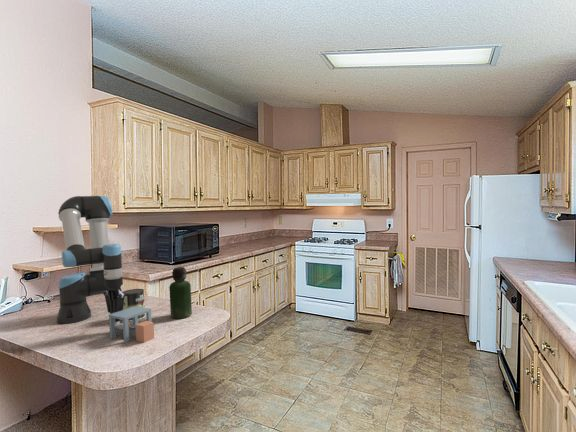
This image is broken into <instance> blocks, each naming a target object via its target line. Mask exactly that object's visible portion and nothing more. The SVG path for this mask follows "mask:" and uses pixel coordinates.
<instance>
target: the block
mask: <svg viewBox="0 0 576 432" xmlns="http://www.w3.org/2000/svg"><path fill="white" fill-rule="evenodd" d="M154 323H155V322H153V321H152V322H149V321H147V320H145V321H142V322H138V324H136V339H135V341H136V342H139V343H143V344H145V343H147V342H149V341H151V340H152V341H153V340H154V339H155V325H154Z"/></svg>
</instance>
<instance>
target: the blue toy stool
mask: <svg viewBox="0 0 576 432" xmlns="http://www.w3.org/2000/svg"><path fill="white" fill-rule="evenodd" d="M144 313H145V319H146V320H145V321H149V322H153V321H152V308H148V307H145V308H143V307H138V306H134V307H131V308H128V309H125V310H122V311H119V312H115V313H112V314H108V323H109V339H111V340H113V339H116V334H115V321H114V318H116V319H120V320H121V321H122V325H123V335H124V336H123V342H124V343H128V342H130V338H129V327H130V326H129V325H130V324H129V322H128V319H130V318H133V321H132V323H133V326H132V328H136V324H139V320H138V316H139V315H141V314H144Z"/></svg>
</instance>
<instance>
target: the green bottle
mask: <svg viewBox="0 0 576 432" xmlns="http://www.w3.org/2000/svg"><path fill="white" fill-rule="evenodd" d="M171 273H172V278H173V280H174V281H173V282H172V283H170V284H169V287H168V288H169V289H168V291H169V303H170V304H169V306H170V317H171V318H172V319H175V320H177V319H179V320H181V319H185V318H188V317H190V316H191V315H193V312H192V311H193V310H192V292H191V290H192V288H191V286H192V285H191V283H190V282H189V281H188V280H186V279H187V270H186V268H185V267H183V266H177V267H174V268H173V269H172V272H171Z"/></svg>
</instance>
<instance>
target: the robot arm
mask: <svg viewBox="0 0 576 432" xmlns="http://www.w3.org/2000/svg"><path fill="white" fill-rule="evenodd" d="M57 213H58V219H59V220H60V221H61V226H62V230H63V231H62V232H63V237H64V245H65V246H64V247H65V250H64V251H62V252H61V261H62V267H64V268H75V267H76V268H77V267H82V266H83V267H84V266H89V265H90V266H91V265H92V267H91V268H90V269H89V272H88V274H86V272H84V271H79V272H74V273H70V274H67V275H64V276H62V277H60V278H59V280H58V292H59V307H58V308H59V309H58V312H57V315H56V323H57V324H60V325H61V324H63V325H65V324H73V323H77V322H81V321H84V320H87V319H89V318H91V317H92V310H91V309H90V306H89V304H88V302H87V301H88V300H87V297H93V296H98V295H103V296H104V299H105V304H106V309H107V313H110V314H112V313H115V312H119V311H122V310H123V304H124V297H125V293H122V292H123V291H122V288H121V287H122V286H123V284H124V281H123V280H124V279H123V263H122V260H123V259H122V246H121V244H120V243H109V234H108V232H109V231H108V222H109V221H110V218H111V217H112V216H113V214H114V213H113V206H112V203H111V200H110V198H109V197H108V196H105V195H83V196H81V195H76V196H72V197H70V198H68V199H66V200H65V201H63V203H62V204H61V205H60V207H59V209H58V212H57ZM81 218H85V222H87V223H88V228H89V241H90V248H86V246H85V240H84V236H83V231H82V230H83V229H82V225H81V221H80V220H81ZM120 320H121V319H116V318H114V321H115V326H116V325H121V324H120Z"/></svg>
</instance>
